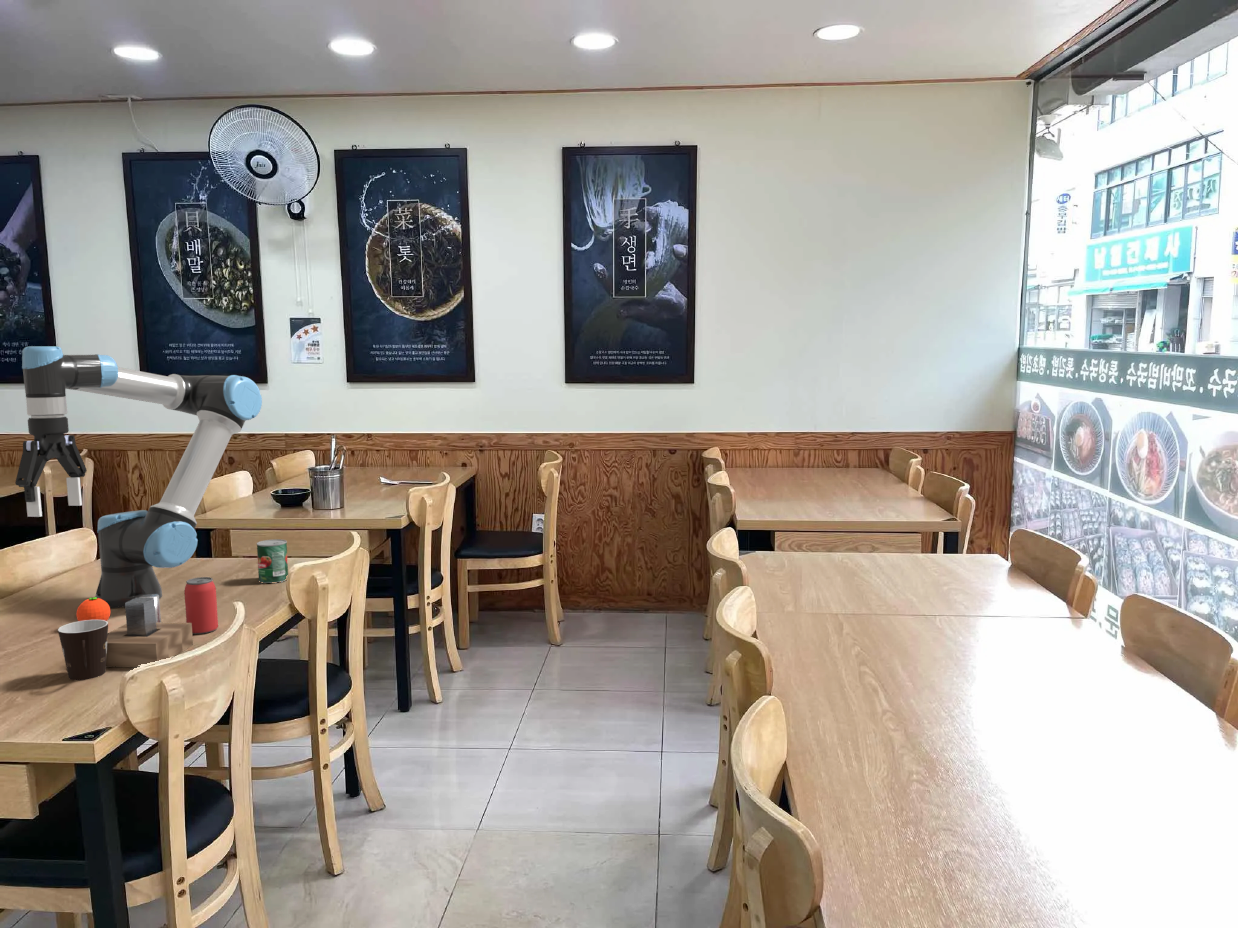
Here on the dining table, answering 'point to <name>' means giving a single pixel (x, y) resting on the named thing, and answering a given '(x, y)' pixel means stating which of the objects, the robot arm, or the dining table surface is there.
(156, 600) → the cylinder
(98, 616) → the clementine
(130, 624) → the square bit
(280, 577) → the canned tomato
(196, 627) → the beer can
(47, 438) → the robot arm
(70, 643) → the coffee mug
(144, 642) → the socket block
